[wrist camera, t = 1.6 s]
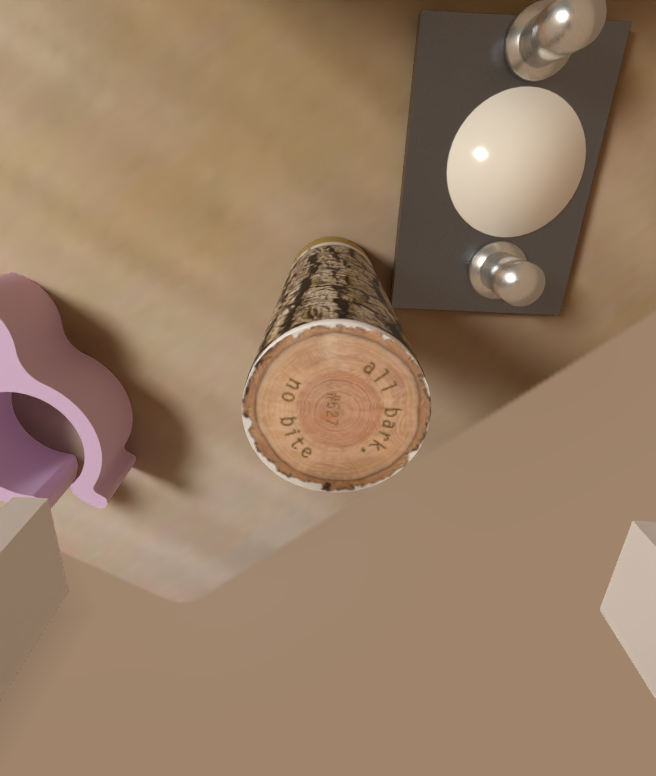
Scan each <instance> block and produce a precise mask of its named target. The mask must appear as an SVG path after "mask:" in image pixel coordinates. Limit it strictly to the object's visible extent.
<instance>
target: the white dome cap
mask: <svg viewBox="0 0 656 776" xmlns="http://www.w3.org/2000/svg"><path fill="white" fill-rule="evenodd" d="M585 158H586V143H585V136H584V131H583V128H582V125H581V122H580V120H579V118H578V116H577V114H576V113H575V111H574V110H573V109H572V107H571V106H570V105H569V104H568V103H567V102H566V101H565V100H564V99H563V98H561V97H560V96H558V95H557V94H555V93H553V92H551V91H549V90H546V89H543V88H538V87H531V86H530V87H517V88H511V89H508V90H505V91H502V92H500V93H498V94H496V95H494V96H491V97H490V98H488V99H487V100H485V101H484V102H482V103H481V104H480V105H479V106H478V107H476V108H475V109H474V110H473V111H472V112H471V113H470V114H469V115H468V117H467V118H466V119H465V121H464V122H463V123H462V125H461V126H460V128H459V130H458V131H457V133H456V135H455V137H454V140H453V142H452V145H451V148H450V151H449V155H448V160H447V170H446V177H447V186H448V192H449V195H450V198H451V201H452V203H453V205H454V207H455V209H456V210H457V212H458V213H459V215H460V216H461V217H462V218H463V219H464V221H465V222H467V223H468V224H469V225H470V226H471V227H473V228H475V229H476V230H478V231H480V232H482V233H485V234H488V235H491V236H496V237H515V236H521V235H524V234H528V233H530V232H533V231H535V230H537V229H539V228H541V227H543V226H544V225H546V224H547V223H549V222H550V221H551V220H553V219H554V218H555V217H556V216H557V215H558V214H559V213H560V212H561V211H562V210H563V209H564V208H565V206H566V205H567V204H568V202H569V201H570V200H571V198H572V196H573V195H574V193H575V191H576V189H577V187H578V185H579V182H580V180H581V177H582V174H583V170H584V165H585Z"/></svg>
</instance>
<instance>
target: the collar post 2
mask: <svg viewBox="0 0 656 776" xmlns="http://www.w3.org/2000/svg"><path fill="white" fill-rule="evenodd" d="M606 13H607V7H606V1H605V0H541V1H538V2H535V3H533V4H531V5H530V6H528V7H527V8H526V9H525V10H523V11H522V12H521V13H520V14H519V15H518V16H517V17H516V18H515V19H514V21H513V22H512V24H511V25H510V27H509V29H508V32H507V35H506V38H505V43H504V56H505V61H506V64H507V66H508V68H509V70H510V71H511V73H512V74H513V75H514V76H515V77H517V78H518V79H520V80H522V81H526V82H537V81H541V80H544V79H546V78H548V77H550V76H552V75H554V74H555V73H557V72H558V71H559V70H560V69H561V68H562V67H563V66H564V65H565V63H566V62H567V60H568V59H569V57H570V55H571V53H573V52H575V51H577V50H579V49H581V48H583V47H585V46H587V45H589V44H590V43H591V42H593V41H594V40H595V39H596V37H597V36H598V35H599V33H600V32H601V30H602V28H603V26H604V23H605V19H606Z"/></svg>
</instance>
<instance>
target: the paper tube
mask: <svg viewBox="0 0 656 776" xmlns="http://www.w3.org/2000/svg"><path fill="white" fill-rule="evenodd" d="M430 416H431V399H430V393H429V388H428V385H427V381H426V378H425V375H424V373H423V370H422V368H421V366H420V364H419V362H418V360H417V358H416V356H415V354H414V351H413V349H412V347H411V345H410V343H409V341H408V339H407V337H406V335H405V333H404V331H403V328H402V326H401V324H400V322H399V320H398V318H397V316H396V314H395V312H394V310H393V307H392V305H391V303H390V301H389V299H388V297H387V295H386V293H385V291H384V289H383V287H382V284H381V282H380V280H379V278H378V276H377V274H376V272H375V270H374V268H373V266H372V264H371V262H370V260H369V258H368V256H367V255H366V253H365V252H364V251H363V250H362V249H361V248H360V247H359V246H358V245H357V244H355V243H354V242H352V241H350V240H347V239H345V238H341V237H324V238H320V239H317V240H315V241H313V242H311V243H310V244H308V245H307V246H306V247H304V248H303V249H302V250H301V252H300V253H299V254H298V256H297V257H296V259H295V261H294V264H293V266H292V268H291V270H290V273H289V275H288V278H287V280H286V283H285V285H284V288H283V290H282V293H281V295H280V297H279V300H278V302H277V305H276V307H275V310H274V312H273V315H272V317H271V320H270V322H269V325H268V327H267V330H266V332H265V335H264V337H263V340H262V342H261V345H260V347H259V350H258V352H257V355H256V357H255V360H254V362H253V365H252V367H251V370H250V372H249V375H248V378H247V381H246V384H245V389H244V393H243V398H242V418H243V424H244V428H245V432H246V435H247V437H248V440H249V442H250V444H251V446H252V447H253V449H254V451H255V452H256V454H257V455H258V456H259V458H260V459H261V460H262V461H263V462H264V463H265V464H266V465H267V466H268V467H269V468H270V469H271V470H272V471H274V472H275V473H276V474H277V475H279V476H281V477H282V478H284V479H285V480H287V481H289V482H291V483H293V484H296V485H298V486H301V487H304V488H307V489H310V490H315V491H320V492H332V493H340V492H351V491H357V490H361V489H365V488H368V487H371V486H374V485H376V484H378V483H381V482H383V481H385V480H386V479H388V478H390V477H391V476H393V475H394V474H396V473H397V472H398V471H400V470H401V469H402V468H403V467H404V466H405V465H406V464H407V463H408V462H409V461H410V460H411V459H412V458H413V457H414V455H415V454H416V453H417V451H418V449H419V448H420V446H421V444H422V442H423V440H424V438H425V436H426V433H427V430H428V427H429V423H430Z"/></svg>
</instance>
